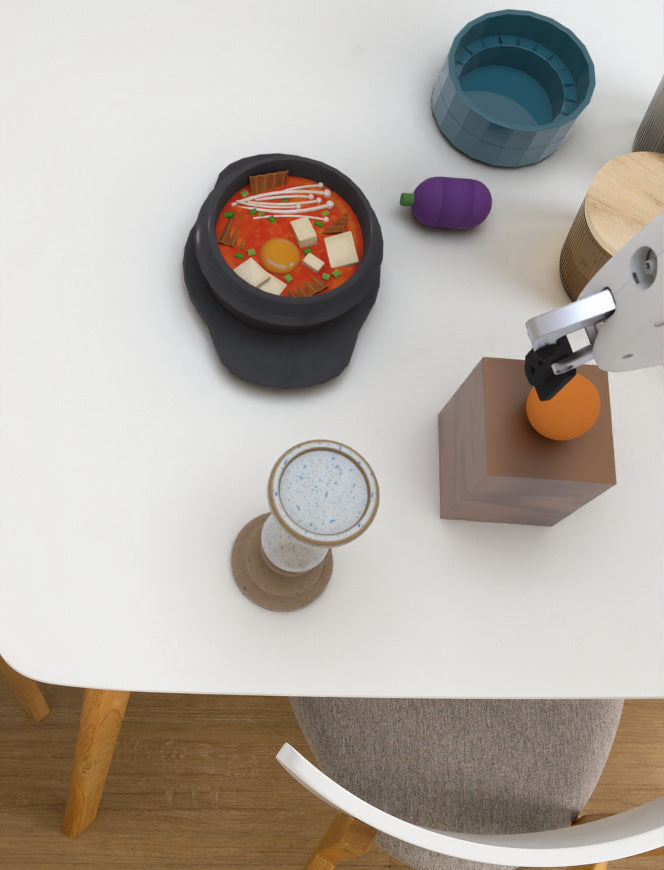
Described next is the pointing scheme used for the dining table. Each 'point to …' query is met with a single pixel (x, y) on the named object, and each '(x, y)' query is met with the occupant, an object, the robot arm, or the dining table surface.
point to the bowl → (512, 87)
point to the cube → (517, 452)
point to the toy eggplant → (449, 202)
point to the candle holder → (304, 524)
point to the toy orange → (565, 410)
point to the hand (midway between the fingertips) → (608, 364)
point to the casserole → (284, 268)
